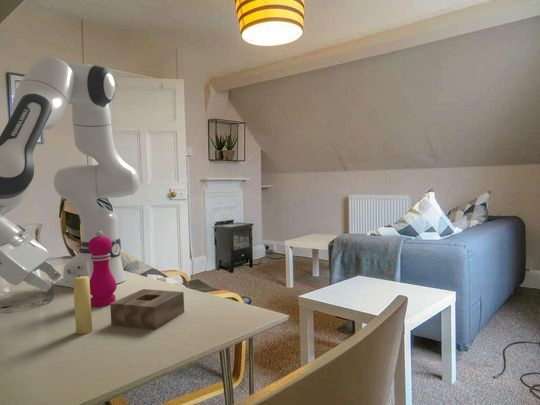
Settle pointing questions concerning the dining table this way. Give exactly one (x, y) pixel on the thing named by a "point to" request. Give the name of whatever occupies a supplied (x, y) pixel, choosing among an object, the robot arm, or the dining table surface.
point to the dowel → (82, 304)
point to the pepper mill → (101, 271)
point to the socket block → (147, 308)
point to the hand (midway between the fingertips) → (54, 283)
